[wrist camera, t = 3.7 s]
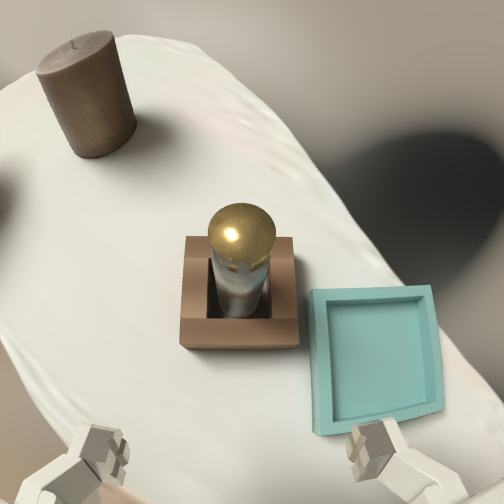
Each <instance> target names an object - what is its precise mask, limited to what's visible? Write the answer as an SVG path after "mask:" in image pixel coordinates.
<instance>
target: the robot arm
mask: <svg viewBox="0 0 504 504" xmlns="http://www.w3.org/2000/svg"><path fill="white" fill-rule="evenodd" d="M351 432H352V435H350V436H349V437H348V439H347V442H346V452H347V456H348V459H349V460H350V461H352V462H353V463H354V464H353V466H352V472H353V475H354V478H355V481H356V482H360V481H365V480H369V479H373V478H377V479H378V480H379V481H380V482H381V483H383V484H384V485H385V486H386V487H388V488H389V489H390V490H391V491H392V492H394V493H395V494H396V495H397V496H399V497H400V498H401V499H402V500H404V501H405V502H406V503H408V504H504V477H503V478H502V479H500V480H499V481H497V482H496V483H494V484H492V485H491V486H489V487H488V488H486V489H484V490H483V491H481V492H479V493H478V494H476V495H474V496H472V497H471V498H470V497H469V495H468V493H467V491H466V489H465V487H464V485H463V483H462V481H461V479H460V477H459V475H458V473H456V472H454V471H453V470H451V469H449V468H447V467H445V466H444V465H442V464H440V463H438V462H437V461H435V460H433V459H431V458H430V457H428V456H426V455H424V454H423V453H421V452H419V451H418V450H416V449H414V448H409V446H408V444H407V442H406V440H405V438H404V436H403V434H402V432H401V430H400V428H399V426H398V424H397V422H396V420H395V418H393V417H388V418H384V419H380V420H379V419H378V420H374V421H369V422H365V423H360V424H355V425H354V426H352V429H351ZM122 436H123V433H122V432H121V430H120V429H117V428H111V427H105V426H100V425H95V424H90V423H85V422H82V423H81V424H80V425H79V426H78V428H77V431H76V433H75V435H74V438H73V440H72V443H71V445H70V448H69V450H68V453H67V454H62V455H61V456H59V457H58V458H56V459H55V460H53V461H52V462H50V463H49V464H48V465H46V466H45V467H43V468H42V469H40V470H39V471H37V472H35V473H34V474H33V475H31V476H29V477H28V478H27V479H25V480H24V481H23V483H22V486H21V488H20V490H19V493H18V495H17V498H16V501H15V503H14V504H81V503H82V502H83V501H84V500H85V499H87V498H88V497H89V496H90V495H91V494H92V493H93V492H94V491H95V490H96V489H97V488H98V487H99V486H100V485H101V484H102V483H107V484H112V485H117V486H123V482H124V478H125V474H126V472H125V470H124V468H123V467H124V466H125V465H126V464H128V461H129V452H130V450H129V445H128V443H127V441H126V440H124V439H123V438H122ZM101 482H102V483H101ZM0 504H9V503H8V502H6V501H4V500H2V499H0Z"/></svg>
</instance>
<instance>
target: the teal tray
mask: <svg viewBox="0 0 504 504" xmlns="http://www.w3.org/2000/svg"><path fill="white" fill-rule="evenodd" d="M306 301H307V315H308V331H309V348H310V367H311V391H312V427H313V432H314V433H316V434H317V435H319V436H325V435H333V434H340V433H346V432H351V429H352V426H354V425H355V424H360V423H365V422H369V421H374V420H378V419H379V420H380V419H384V418H388V417H393V418H395V420H396V422H401V421H405V420H409V419H412V418H416V417H420V416H423V415H427V414H430V413H434V412H437V411H440V410H443V409H445V405H444V384H443V370H442V359H441V350H440V341H439V334H438V326H437V320H436V315H435V314H436V313H435V308H434V302H433V296H432V291H431V286H430V285H421V286H399V287H375V288H344V289H313V290H312V291H311V292H310V294H309V295H308V296H307V298H306Z"/></svg>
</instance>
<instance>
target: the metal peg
mask: <svg viewBox="0 0 504 504" xmlns="http://www.w3.org/2000/svg"><path fill="white" fill-rule="evenodd" d="M208 238H209V245H210V251H211V257H212V264H213V270H214V276H215V282H216V288H217V293H218V299H219V304H220V307H221V309H222V310H223V311H224V312H225V313H226V314H227V315H229V316H231V317H234V318H244V317H247V316H249V315H250V314H252V313H253V312H254V311H255V309H256V308H257V306H258V303H259V299H260V295H261V291H262V288H263V284H264V280H265V277H266V273H267V269H268V265H269V261H270V258H271V254H272V250H273V246H274V242H275V238H276V228H275V224H274V222H273V220H272V218H271V217H270V216H269V215H268V213H266V212H265V211H264V210H263V209H261V208H259V207H257V206H255V205H252V204H247V203H236V204H231V205H228V206H226V207H224V208H222V209H221V210H219V211H218V212H217V213H216V214H215V215H214V216H213V218H212V219H211V221H210V223H209V227H208Z"/></svg>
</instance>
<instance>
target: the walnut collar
mask: <svg viewBox="0 0 504 504" xmlns="http://www.w3.org/2000/svg"><path fill="white" fill-rule="evenodd" d="M211 272H214V270H213V264H212V257H211V251H210V245H209V238H208V236H186V243H185V255H184V268H183V282H182V297H181V316H180V339H179V344H181V345H182V346H183V347H184V348H186V349H223V350H256V349H292V348H294V347H295V346H297V345H298V344H299V325H298V308H297V293H296V279H295V265H294V253H293V241H292V237H276V238H275V242H274V246H273V250H272V254H271V258H270V261H269V265H268V269H267V273H266V275H267V304H268V319H210V286H211Z"/></svg>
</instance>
